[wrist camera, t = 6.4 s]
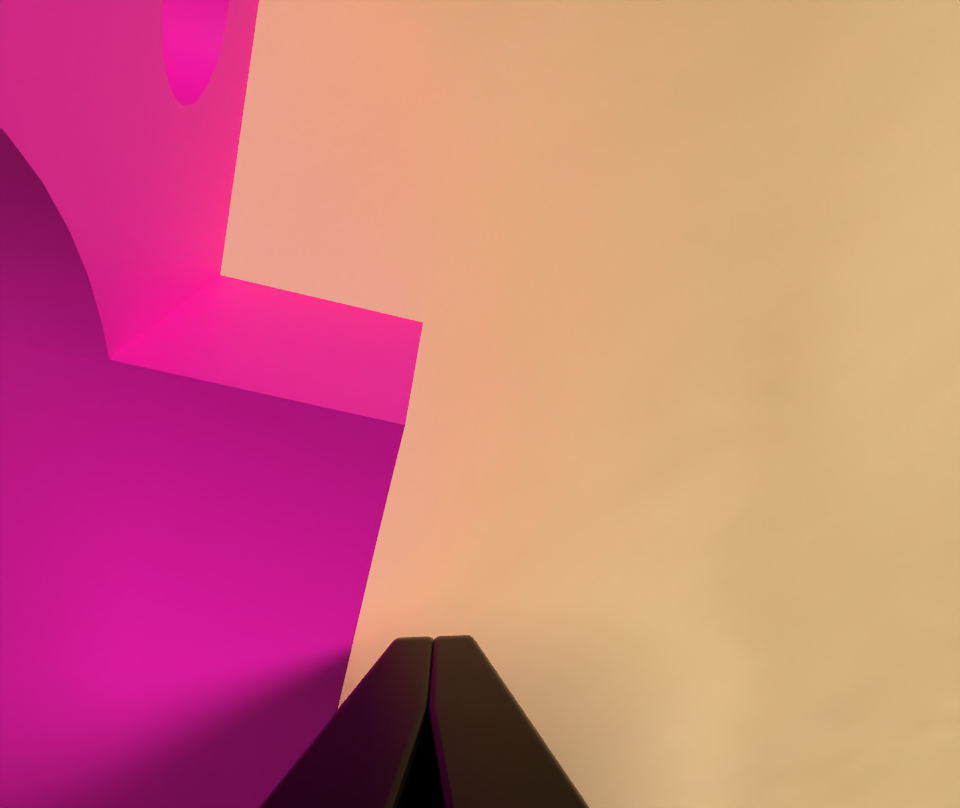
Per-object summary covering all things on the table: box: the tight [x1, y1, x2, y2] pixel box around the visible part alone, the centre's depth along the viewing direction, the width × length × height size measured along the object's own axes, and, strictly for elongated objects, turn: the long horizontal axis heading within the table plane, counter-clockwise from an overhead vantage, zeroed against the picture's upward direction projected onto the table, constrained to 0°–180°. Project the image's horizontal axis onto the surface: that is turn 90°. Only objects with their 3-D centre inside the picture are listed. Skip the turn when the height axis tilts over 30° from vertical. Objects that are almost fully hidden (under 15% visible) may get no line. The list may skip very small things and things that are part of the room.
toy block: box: [0, 0, 423, 808], centre depth 8 cm, size 15×6×8 cm, turn 166°
